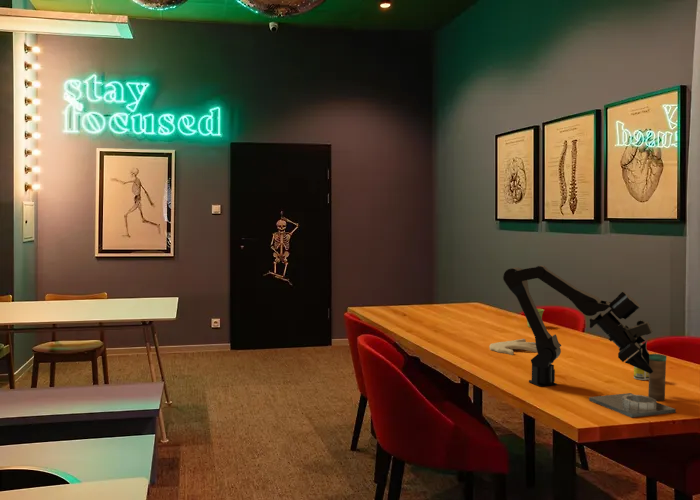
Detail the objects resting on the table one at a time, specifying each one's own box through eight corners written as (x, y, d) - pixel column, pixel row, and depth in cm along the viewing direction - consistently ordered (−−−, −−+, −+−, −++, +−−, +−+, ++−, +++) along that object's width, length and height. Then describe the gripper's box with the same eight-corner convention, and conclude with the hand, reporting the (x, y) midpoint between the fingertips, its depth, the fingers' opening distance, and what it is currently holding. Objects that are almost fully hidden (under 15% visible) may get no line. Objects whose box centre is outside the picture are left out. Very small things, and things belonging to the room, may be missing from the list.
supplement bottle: (644, 376, 217) (645, 352, 217) (651, 380, 212) (652, 355, 212) (630, 377, 217) (631, 352, 217) (637, 380, 212) (638, 355, 212)
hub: (631, 417, 172) (631, 406, 172) (589, 400, 188) (589, 390, 188) (675, 412, 177) (675, 401, 177) (630, 396, 193) (630, 386, 193)
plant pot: (520, 325, 320) (520, 308, 320) (534, 324, 324) (535, 307, 324) (532, 328, 312) (533, 311, 311) (547, 327, 316) (548, 310, 315)
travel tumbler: (656, 401, 188) (657, 357, 187) (644, 397, 192) (645, 354, 191) (668, 400, 189) (670, 356, 188) (656, 396, 193) (657, 353, 193)
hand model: (488, 339, 271) (537, 335, 267) (489, 350, 271) (538, 346, 267) (490, 350, 252) (542, 346, 248) (491, 362, 253) (543, 357, 249)
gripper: (631, 316, 184) (673, 358, 179) (638, 308, 201) (677, 347, 195) (601, 340, 189) (641, 382, 184) (611, 331, 205) (648, 369, 200)
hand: (653, 369), depth 191 cm, fingers open, 9 cm apart
